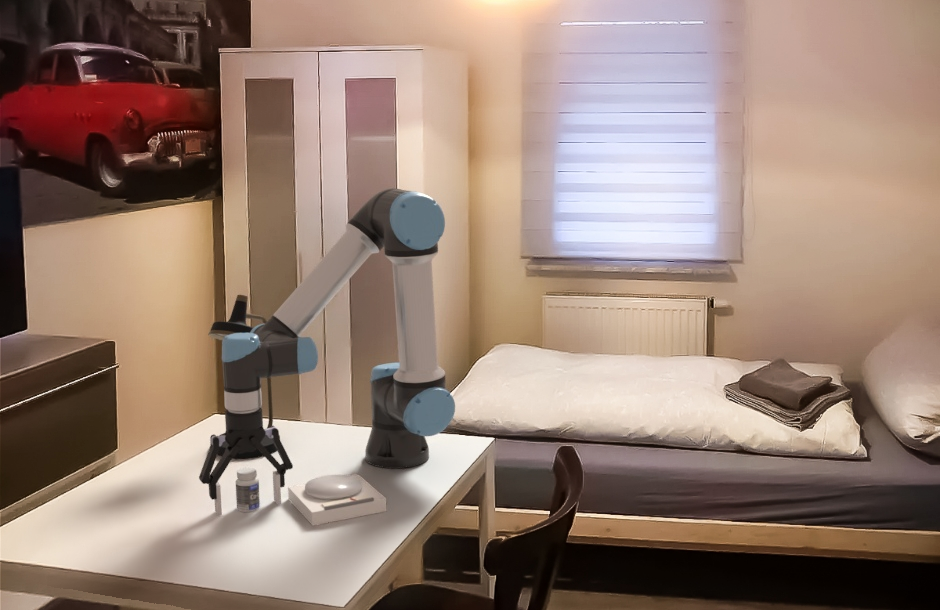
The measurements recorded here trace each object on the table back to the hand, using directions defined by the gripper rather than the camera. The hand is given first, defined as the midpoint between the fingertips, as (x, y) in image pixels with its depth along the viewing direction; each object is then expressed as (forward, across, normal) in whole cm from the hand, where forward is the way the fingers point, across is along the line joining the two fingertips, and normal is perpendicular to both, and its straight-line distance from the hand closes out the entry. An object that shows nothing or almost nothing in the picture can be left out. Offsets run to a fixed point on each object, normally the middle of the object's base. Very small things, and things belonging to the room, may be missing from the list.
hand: (248, 507), depth 219 cm
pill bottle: (0, 0, 0) cm, 0 cm away
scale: (0, -17, +7) cm, 18 cm away
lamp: (0, -12, -39) cm, 41 cm away
